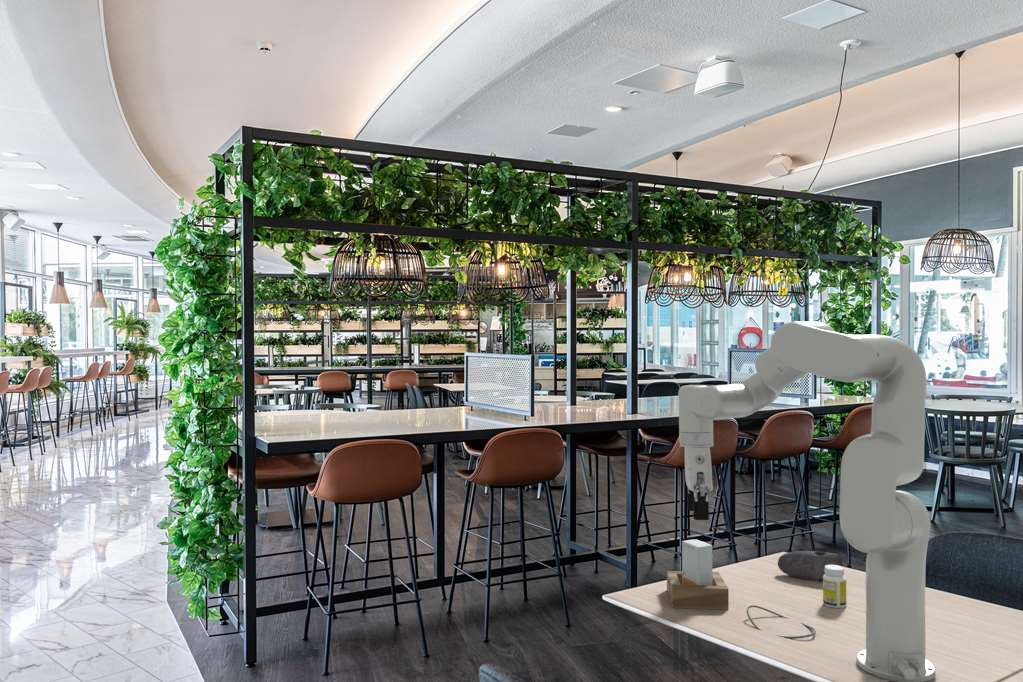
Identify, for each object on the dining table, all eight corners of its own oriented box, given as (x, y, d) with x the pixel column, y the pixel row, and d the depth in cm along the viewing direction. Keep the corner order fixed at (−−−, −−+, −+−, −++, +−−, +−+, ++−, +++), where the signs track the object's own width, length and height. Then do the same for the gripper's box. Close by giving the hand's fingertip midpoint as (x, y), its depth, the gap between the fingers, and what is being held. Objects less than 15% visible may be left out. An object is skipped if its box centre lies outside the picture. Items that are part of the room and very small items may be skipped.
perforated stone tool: (775, 577, 189) (775, 549, 189) (779, 571, 194) (779, 544, 194) (841, 586, 182) (840, 557, 182) (843, 580, 186) (843, 552, 186)
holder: (728, 609, 166) (728, 588, 166) (672, 607, 167) (672, 587, 167) (718, 591, 178) (718, 572, 178) (666, 590, 179) (666, 570, 179)
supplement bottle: (842, 601, 171) (842, 564, 171) (849, 609, 166) (849, 570, 166) (820, 601, 171) (820, 563, 171) (826, 608, 167) (826, 570, 167)
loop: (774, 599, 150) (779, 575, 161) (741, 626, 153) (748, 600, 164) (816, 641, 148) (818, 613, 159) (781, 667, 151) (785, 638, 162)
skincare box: (681, 592, 174) (681, 540, 174) (696, 590, 176) (696, 538, 176) (698, 601, 169) (698, 547, 169) (713, 598, 170) (713, 544, 170)
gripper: (719, 443, 164) (721, 523, 163) (707, 435, 181) (708, 507, 181) (684, 444, 164) (686, 523, 164) (675, 435, 182) (676, 507, 181)
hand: (698, 515), depth 172 cm, fingers open, 9 cm apart
